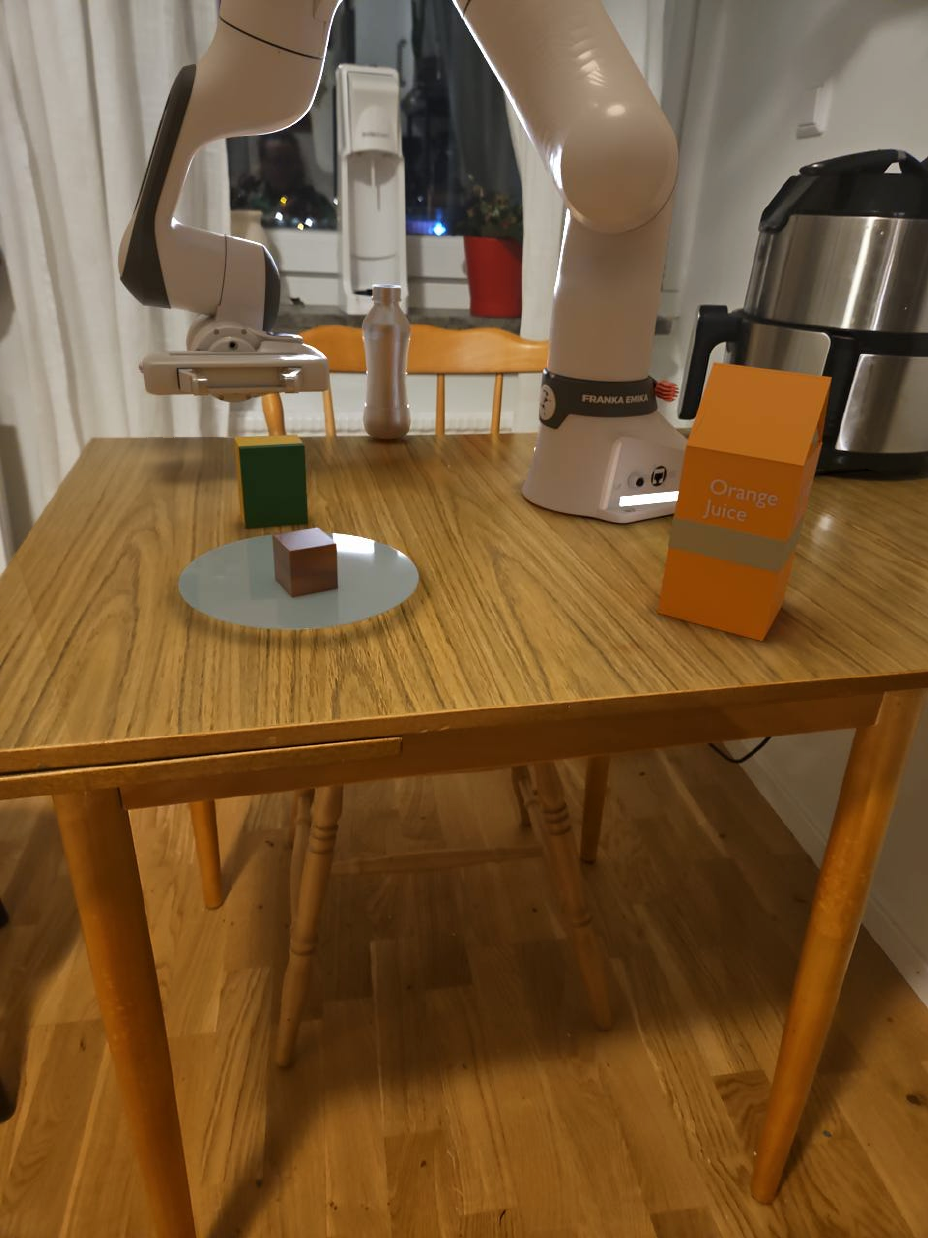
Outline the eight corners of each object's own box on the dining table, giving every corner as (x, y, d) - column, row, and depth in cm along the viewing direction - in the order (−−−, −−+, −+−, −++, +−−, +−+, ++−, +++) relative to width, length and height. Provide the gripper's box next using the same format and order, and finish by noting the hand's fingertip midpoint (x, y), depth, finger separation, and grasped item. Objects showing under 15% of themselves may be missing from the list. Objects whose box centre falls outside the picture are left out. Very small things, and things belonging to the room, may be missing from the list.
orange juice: (683, 582, 74) (725, 355, 65) (782, 607, 70) (841, 370, 61) (655, 613, 68) (697, 368, 59) (762, 642, 64) (825, 385, 55)
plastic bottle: (403, 446, 111) (405, 289, 102) (356, 441, 112) (354, 285, 103) (415, 434, 117) (418, 285, 108) (370, 430, 118) (369, 282, 109)
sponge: (300, 520, 84) (296, 434, 80) (308, 534, 80) (304, 445, 76) (241, 525, 82) (234, 437, 78) (246, 540, 78) (239, 448, 74)
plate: (382, 535, 81) (382, 524, 81) (451, 624, 65) (452, 610, 64) (171, 555, 74) (170, 542, 74) (189, 659, 58) (188, 645, 57)
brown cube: (319, 570, 70) (318, 527, 68) (338, 588, 67) (337, 543, 65) (274, 579, 68) (271, 534, 66) (291, 597, 65) (289, 551, 63)
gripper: (134, 334, 92) (138, 356, 81) (313, 335, 99) (340, 355, 88) (141, 391, 95) (146, 419, 84) (314, 387, 102) (341, 413, 91)
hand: (247, 386), depth 86 cm, fingers open, 8 cm apart
